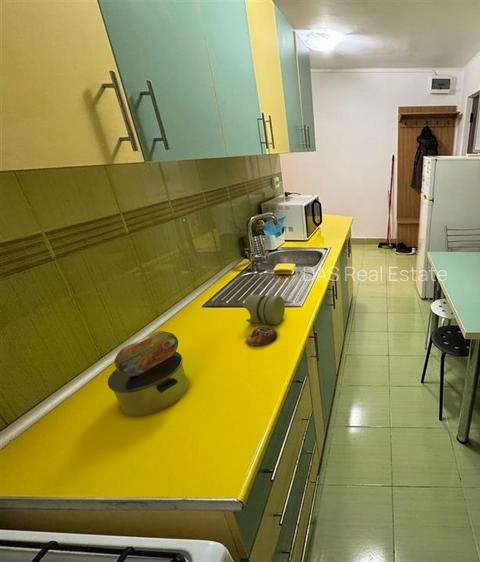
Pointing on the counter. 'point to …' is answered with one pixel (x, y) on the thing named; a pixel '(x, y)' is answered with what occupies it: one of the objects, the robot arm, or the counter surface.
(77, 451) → the counter surface
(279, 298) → the piston
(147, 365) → the tin
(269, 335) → the bread roll
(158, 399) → the stockpot
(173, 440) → the counter surface
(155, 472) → the counter surface
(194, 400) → the counter surface
